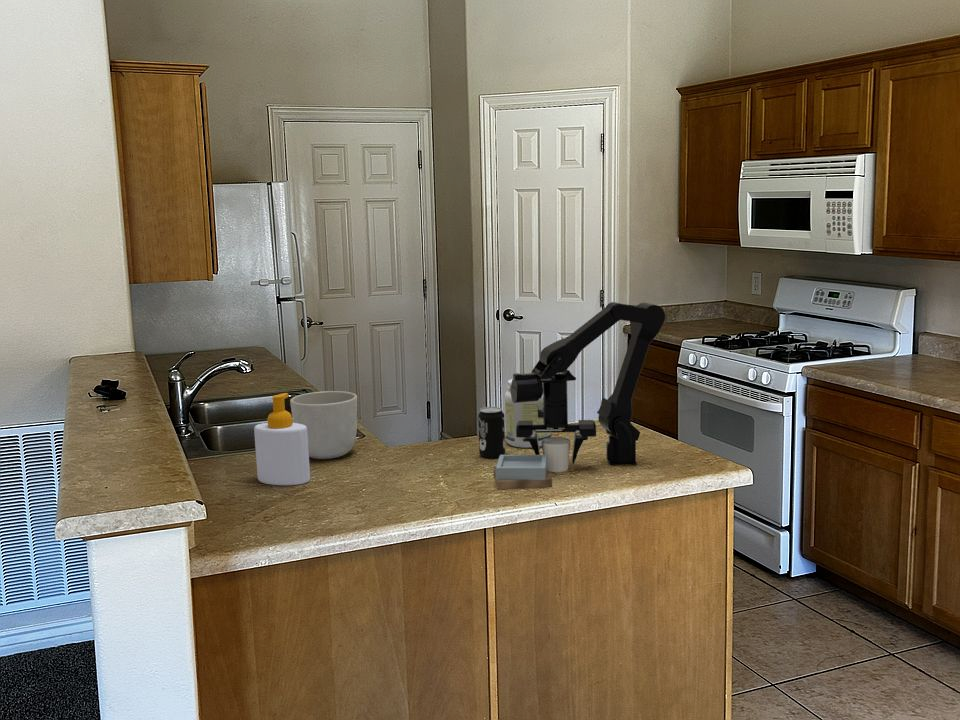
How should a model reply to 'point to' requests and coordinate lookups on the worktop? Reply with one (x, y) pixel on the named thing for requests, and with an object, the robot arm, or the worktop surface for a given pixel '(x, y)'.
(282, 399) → the soap bottle
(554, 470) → the shot glass
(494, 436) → the beverage can
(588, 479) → the worktop surface
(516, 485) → the slab bottom
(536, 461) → the slab top
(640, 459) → the worktop surface
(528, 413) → the supplement tub
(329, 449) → the planter
